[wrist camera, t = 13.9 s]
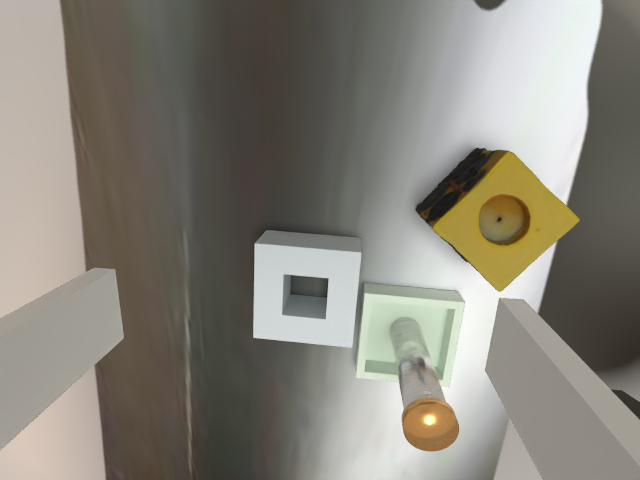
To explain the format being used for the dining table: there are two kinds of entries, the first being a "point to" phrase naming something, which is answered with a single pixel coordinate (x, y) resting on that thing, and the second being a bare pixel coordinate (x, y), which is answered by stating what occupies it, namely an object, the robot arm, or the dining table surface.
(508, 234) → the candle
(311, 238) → the block
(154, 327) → the dining table surface
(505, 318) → the robot arm
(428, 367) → the pin
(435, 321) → the tray
